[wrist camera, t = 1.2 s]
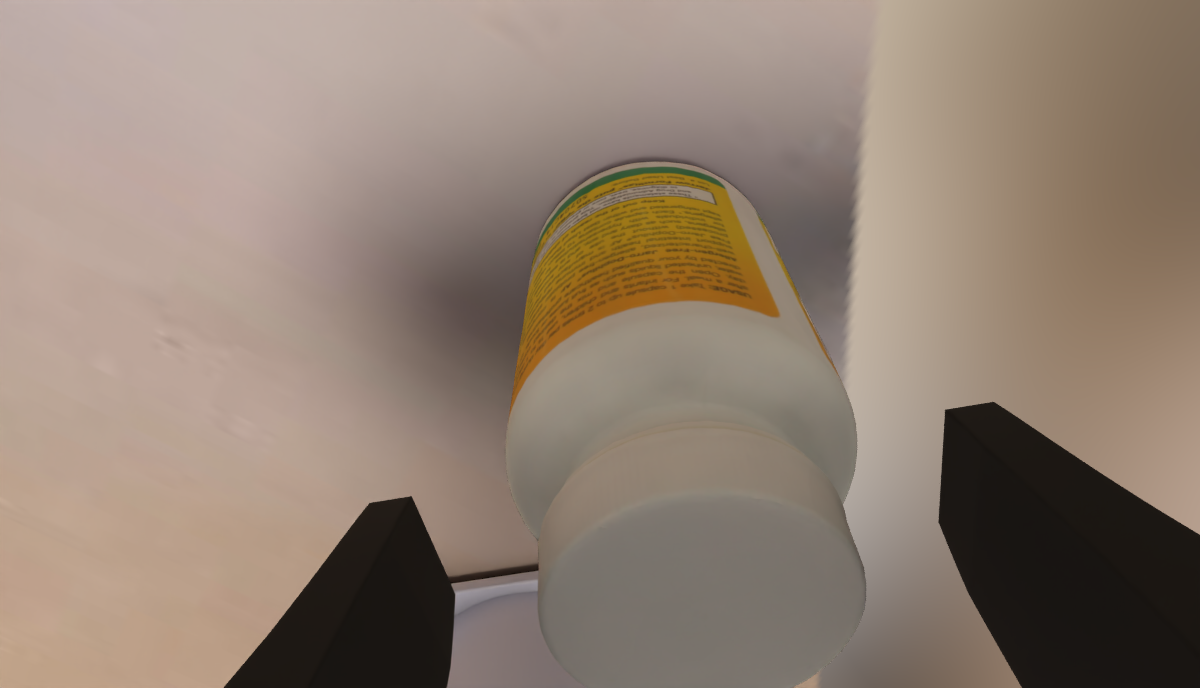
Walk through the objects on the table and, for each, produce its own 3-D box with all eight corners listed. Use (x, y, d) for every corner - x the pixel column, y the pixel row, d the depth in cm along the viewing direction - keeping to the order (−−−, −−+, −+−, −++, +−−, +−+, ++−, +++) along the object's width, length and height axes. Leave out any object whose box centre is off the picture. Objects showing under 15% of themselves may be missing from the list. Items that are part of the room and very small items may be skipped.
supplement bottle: (816, 255, 17) (1024, 600, 9) (656, 400, 19) (707, 788, 11) (640, 97, 15) (704, 357, 7) (483, 279, 17) (394, 640, 9)
